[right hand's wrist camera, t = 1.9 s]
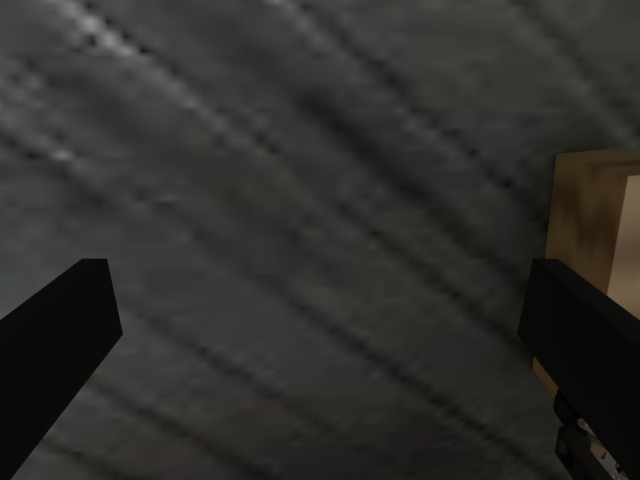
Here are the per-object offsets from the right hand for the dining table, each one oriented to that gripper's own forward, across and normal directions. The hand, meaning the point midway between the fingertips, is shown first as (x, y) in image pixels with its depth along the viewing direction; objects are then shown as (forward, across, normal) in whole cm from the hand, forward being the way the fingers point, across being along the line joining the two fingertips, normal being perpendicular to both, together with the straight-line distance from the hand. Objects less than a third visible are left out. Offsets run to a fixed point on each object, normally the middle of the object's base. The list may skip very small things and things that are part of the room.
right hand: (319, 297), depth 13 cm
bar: (+26, +25, -12) cm, 38 cm away
